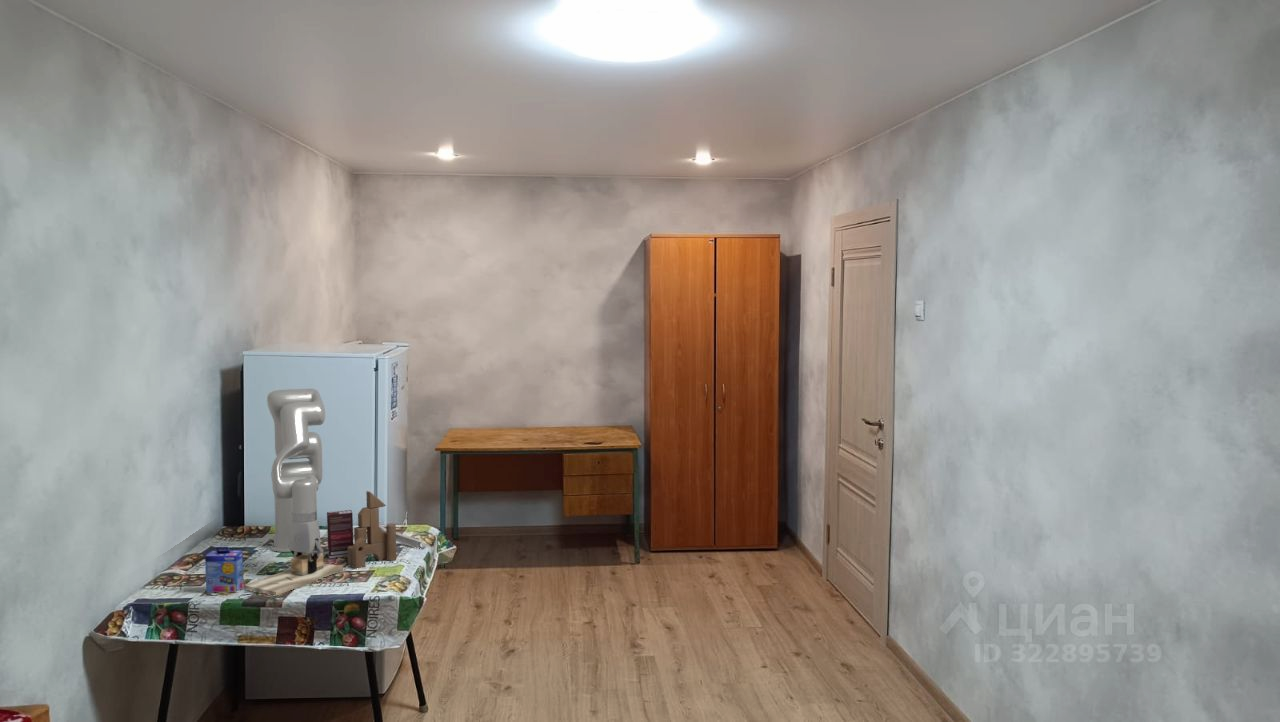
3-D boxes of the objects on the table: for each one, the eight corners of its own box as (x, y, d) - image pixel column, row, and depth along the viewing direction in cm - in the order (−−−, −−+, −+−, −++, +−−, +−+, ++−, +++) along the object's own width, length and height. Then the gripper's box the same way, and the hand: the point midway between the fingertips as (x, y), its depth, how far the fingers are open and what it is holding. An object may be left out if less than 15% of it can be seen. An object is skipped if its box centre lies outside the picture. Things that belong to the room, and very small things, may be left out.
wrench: (421, 557, 319) (362, 537, 333) (425, 556, 321) (366, 536, 334) (423, 536, 318) (363, 517, 332) (427, 535, 320) (367, 516, 333)
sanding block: (291, 573, 285) (290, 558, 285) (312, 565, 293) (312, 551, 293) (302, 575, 283) (302, 560, 283) (323, 568, 291) (323, 553, 291)
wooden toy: (355, 569, 295) (354, 496, 294) (347, 564, 300) (346, 493, 299) (397, 560, 306) (396, 490, 304) (389, 556, 311) (388, 487, 309)
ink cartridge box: (205, 593, 270) (203, 548, 269) (212, 588, 276) (210, 543, 275) (237, 593, 271) (236, 547, 270) (244, 587, 277) (243, 542, 276)
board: (244, 589, 274) (244, 585, 274) (312, 565, 299) (312, 561, 299) (276, 596, 268) (275, 591, 268) (343, 571, 293) (343, 566, 293)
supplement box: (352, 552, 315) (351, 509, 314) (353, 556, 310) (353, 512, 309) (327, 555, 311) (326, 511, 310) (328, 558, 307) (327, 514, 306)
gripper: (276, 516, 287) (278, 570, 288) (315, 522, 279) (316, 577, 281) (294, 511, 293) (296, 564, 295) (332, 517, 286) (333, 571, 287)
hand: (306, 570), depth 288 cm, fingers closed on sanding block, 5 cm apart
